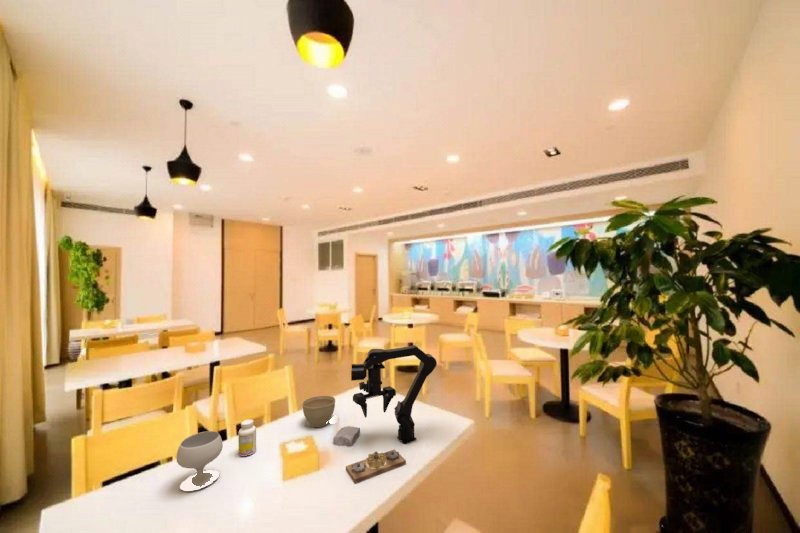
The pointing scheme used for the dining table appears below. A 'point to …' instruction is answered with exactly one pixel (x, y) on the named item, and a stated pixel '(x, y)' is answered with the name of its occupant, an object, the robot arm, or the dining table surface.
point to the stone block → (346, 436)
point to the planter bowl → (318, 410)
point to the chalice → (199, 454)
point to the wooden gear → (376, 460)
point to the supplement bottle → (247, 438)
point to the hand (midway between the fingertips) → (375, 414)
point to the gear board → (363, 472)
